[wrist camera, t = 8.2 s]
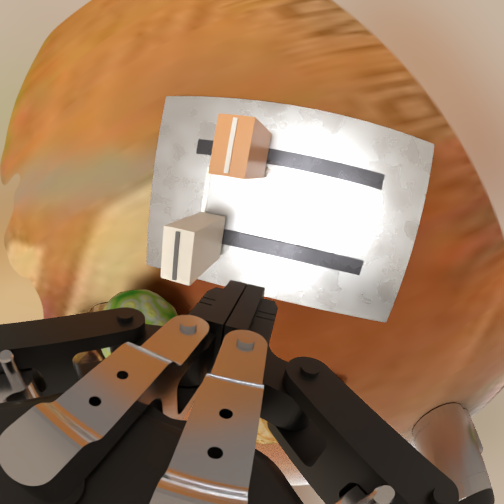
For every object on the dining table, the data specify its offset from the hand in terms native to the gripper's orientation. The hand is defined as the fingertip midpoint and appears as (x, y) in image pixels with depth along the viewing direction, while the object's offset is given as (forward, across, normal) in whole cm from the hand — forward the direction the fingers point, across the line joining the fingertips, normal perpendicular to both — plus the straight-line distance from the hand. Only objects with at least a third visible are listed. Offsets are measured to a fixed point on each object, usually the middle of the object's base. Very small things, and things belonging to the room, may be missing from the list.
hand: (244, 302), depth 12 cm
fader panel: (+16, 0, -3) cm, 16 cm away
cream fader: (+13, +6, +1) cm, 15 cm away
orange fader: (+13, +3, -7) cm, 15 cm away
